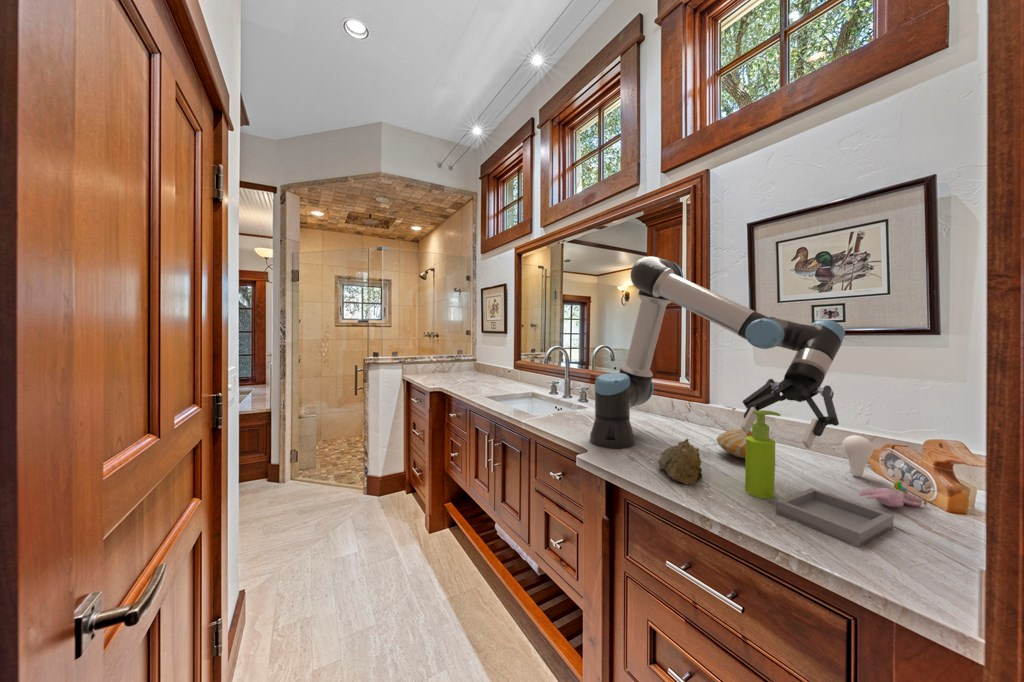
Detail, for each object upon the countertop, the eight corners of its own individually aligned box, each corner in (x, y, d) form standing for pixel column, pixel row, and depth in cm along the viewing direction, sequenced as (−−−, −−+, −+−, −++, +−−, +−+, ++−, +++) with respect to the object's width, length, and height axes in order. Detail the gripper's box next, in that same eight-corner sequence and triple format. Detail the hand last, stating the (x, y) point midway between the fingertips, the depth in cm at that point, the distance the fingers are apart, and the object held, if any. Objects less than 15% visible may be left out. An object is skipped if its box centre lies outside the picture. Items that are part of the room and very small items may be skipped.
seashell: (683, 468, 108) (680, 433, 109) (716, 484, 94) (713, 444, 94) (647, 471, 107) (645, 436, 107) (676, 488, 92) (673, 447, 93)
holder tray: (776, 512, 80) (776, 501, 80) (810, 498, 86) (811, 487, 86) (859, 547, 67) (860, 533, 67) (893, 528, 73) (893, 515, 73)
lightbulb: (879, 481, 95) (881, 439, 94) (855, 481, 95) (857, 439, 94) (857, 471, 101) (858, 432, 101) (835, 472, 101) (836, 432, 101)
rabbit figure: (901, 503, 87) (847, 497, 84) (905, 478, 86) (851, 471, 84) (935, 516, 80) (877, 511, 78) (940, 489, 80) (882, 483, 78)
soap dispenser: (784, 499, 86) (786, 414, 85) (751, 497, 87) (752, 413, 86) (771, 488, 91) (773, 408, 90) (740, 486, 93) (742, 407, 92)
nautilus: (752, 446, 125) (798, 464, 110) (702, 449, 118) (744, 468, 104) (755, 423, 124) (802, 438, 110) (705, 424, 118) (747, 441, 103)
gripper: (876, 386, 85) (843, 462, 79) (761, 374, 107) (729, 433, 101) (866, 365, 82) (831, 442, 76) (751, 357, 105) (716, 416, 98)
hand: (772, 437), depth 89 cm, fingers open, 13 cm apart
